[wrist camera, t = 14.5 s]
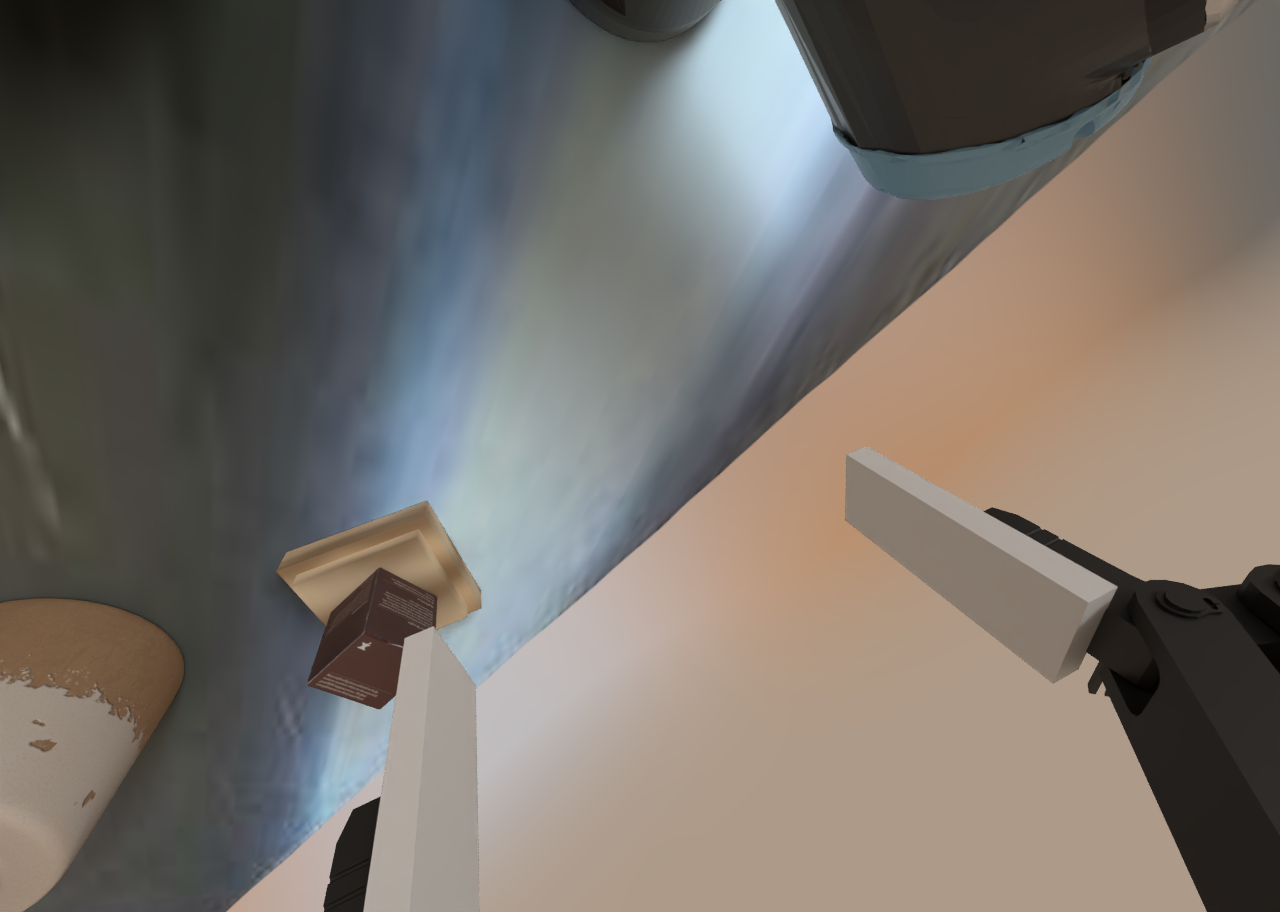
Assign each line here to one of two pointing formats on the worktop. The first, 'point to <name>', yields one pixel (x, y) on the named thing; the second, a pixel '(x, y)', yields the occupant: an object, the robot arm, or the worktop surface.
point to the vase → (70, 727)
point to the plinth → (382, 534)
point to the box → (371, 638)
